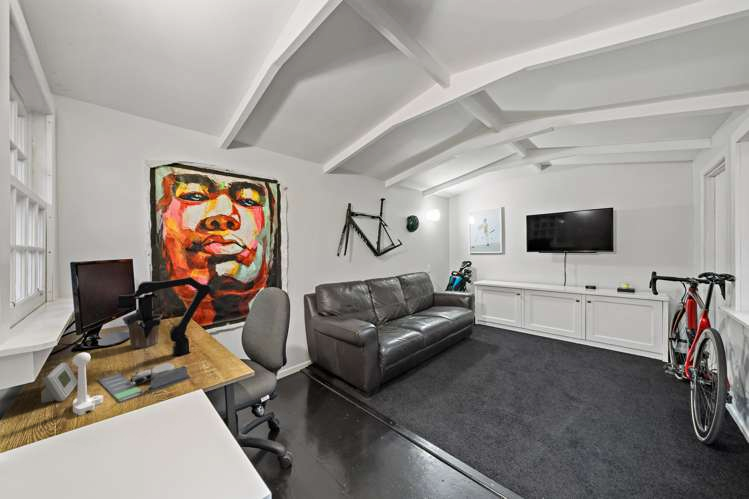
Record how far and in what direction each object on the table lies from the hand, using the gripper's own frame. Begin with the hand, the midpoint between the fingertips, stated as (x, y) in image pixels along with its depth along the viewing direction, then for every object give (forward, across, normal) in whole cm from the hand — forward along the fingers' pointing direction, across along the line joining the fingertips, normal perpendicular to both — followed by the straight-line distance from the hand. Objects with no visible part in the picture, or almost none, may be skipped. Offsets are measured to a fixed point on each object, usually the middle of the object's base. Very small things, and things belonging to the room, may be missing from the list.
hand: (146, 337), depth 137 cm
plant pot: (+12, -29, +8) cm, 33 cm away
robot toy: (+12, +26, -5) cm, 29 cm away
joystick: (+12, +31, -26) cm, 42 cm away
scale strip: (+12, +22, -15) cm, 30 cm away
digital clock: (+12, +11, -30) cm, 34 cm away
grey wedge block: (+12, +36, -3) cm, 39 cm away
